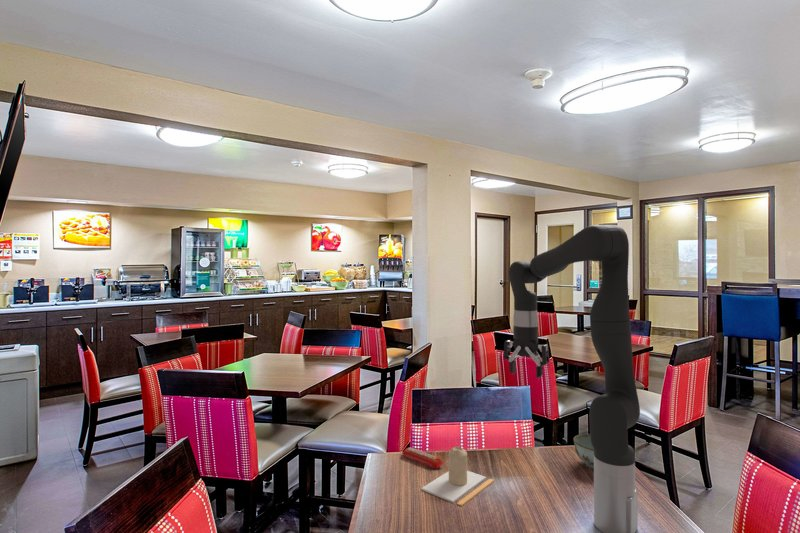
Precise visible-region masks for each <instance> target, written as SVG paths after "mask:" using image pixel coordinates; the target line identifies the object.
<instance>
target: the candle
mask: <svg viewBox="0 0 800 533" xmlns="http://www.w3.org/2000/svg"><path fill="white" fill-rule="evenodd" d="M448 471H449V482H450V483H451V484H453V485H456V486H462V485H465V484H466V483H467V471H468V452H467V451H466V450H465V449H464V448H462V446H453V447H452V448H451V449H450V450H449V451H448Z"/></svg>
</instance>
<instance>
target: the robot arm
mask: <svg viewBox="0 0 800 533" xmlns="http://www.w3.org/2000/svg"><path fill="white" fill-rule="evenodd" d="M629 246H630V244H629V238H628V234H627V233H626V231H625V229H624V228H623V227H621V226H620V225H616V224H615V225H614V224H592V225H591V224H590V225H589V226H586V227H584V228H582V229H581V230H580V231H578V232H577V233H575V234H574V235H572V236H571V237H570V238H568V239H567V240H566V241H564V242H563V243H561V244H560V245H557V246H556V247H553V248H551V249H548V250H546V251H544V252H541V253H539V254H537V255H536V256H534V257H532V259H531V260H530V261H529V260H528V261H526V260H525V261H523V260H522V261H520V260H519V261H514V262H512V263H511V264H510V266H509V269H508V272H507V273H508V275H507V276H508V280H509V283H510V287H511V291H512V293H513V302H514V303H513V307H514V308H513V321H512V322H513V323H512V324H513V326H512V327H513V330H512V332H513V341H512V340H511V339H507V340H505V341H503V342H504V343H503V360H507V361H508V362H509V363H508V364H509V365H508V367H509V372H510V374H512V375H515V374H516V372H517V371H516V370H517V365H516V363H517V361H516V360H517V359H518V357H526V358H531V359H532V361H534V363H535V364H536V366H535V369H536V370H535V376H536V379H540V378H541V377H542V376H543V375H544V366H546V365H548V364H550V353H549V345H548V344H547V343H546V344H539V316H538V295H537V293H536V292H535V291H531V290H528V288H527V286H526V285H527V284H537V283H540V282H541V281H543V280H545V279H546V278H547V277H549V276H553V275H556V274H558V273H561V272H563V271H564V270H566V269H567V267H568V266H570V265H571V264H574V263H580V262H587V261H590V262H601V270H602V271H601V274H602V276H601V283H600V287H599V289H598V291H597V294H596V296H595V298H594V300H593V303H592V305H591V308H590V312H589V325H590V336H591V341H592V345H593V347H594V350H595V352H596V354H597V356H598V358H599V359H600V363H601V365H602V368H603V372H604V393H603V394H601V395H598V396H596V397H595V398H594V399H592V400H591V401H592V402H591V403H590V406H589V414H588V415H589V419H588V420H589V421H588V422H589V434H590V439H591V444H592V446H593V449H594V470H593V523H594V526H595V527H596V528H597V530H598V531H600V532H602V533H636V532H637V531H638V528H639V527H638V524H639V522H638V519H639V518H638V516H639V515H638V514H639V513H638V511H639V510H638V490H637V489H636V452H635V450H634V448H633V447H632V446H631V445H629V441H628V440H629V438H628V436H629V435H628V429H630V428H632V427H633V426H635V425H636V424H637V423H638V421H639V419H640V414H641V410H640V408H641V407H640V402H639V395H638V391H637V386H636V379H635V373H634V357H633V343H632V342H633V341H632V340H633V339H632V326H631V312H630V305H629V304H630V303H629V300H630V299H629V298H630V297H629V257H630V248H629ZM512 347H513V348H514V351H513V352H512V354H511V351H512V349H511V348H512ZM538 350H539V351H540V352H541V355H540V354H539V352H538Z"/></svg>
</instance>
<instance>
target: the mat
mask: <svg viewBox="0 0 800 533" xmlns="http://www.w3.org/2000/svg"><path fill="white" fill-rule="evenodd" d="M486 480H487V477H486V476H484V475H481V474H478V473H476V472H473V471H470V470H467V483H466V484H465V485H462V486H456V485H453V484H451V483H450V482H449V470H448V471H446V472H444V473H443V474H442V475H440V476H438V477H437V478H436V479H434V480H432V481H430V482H429V483H427V484H426V485H424V486H423V487H421V491H423V492H426V493H429V494H431V495H433V496H435V497H438V498H440V499H442V500H446V501H447V502H450V503H452V504H453V503H455V502H456V501H458V500H459V499H461V498H462V497H463V496H465V495H466V494H468V493H469V492H470V491H471V490H473V489H474V488H476V486H477V487H478V485H479V484H480V485H481V483H483V481H484V482H485V481H486Z"/></svg>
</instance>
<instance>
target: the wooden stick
mask: <svg viewBox="0 0 800 533" xmlns="http://www.w3.org/2000/svg"><path fill="white" fill-rule="evenodd" d="M494 482H495V479H493V478H488V479H486V480H485V481H484V482H482V484H480V485H479V486H477V487H475V489H474V490H473V491H471V492H470V493H467V495H466V496H465V497H463V498H462V499H460V500H459V501H458V502H456V505H458V506H460V507H463V506H465V505H466V504H467V503H469V501H471V500H472V499H473V498H475V497H476V496H478V495H479V494H480V493H481V492H482V491H484V490H486V488H488V487H489V486H490V485H492V484H493V483H494Z"/></svg>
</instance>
